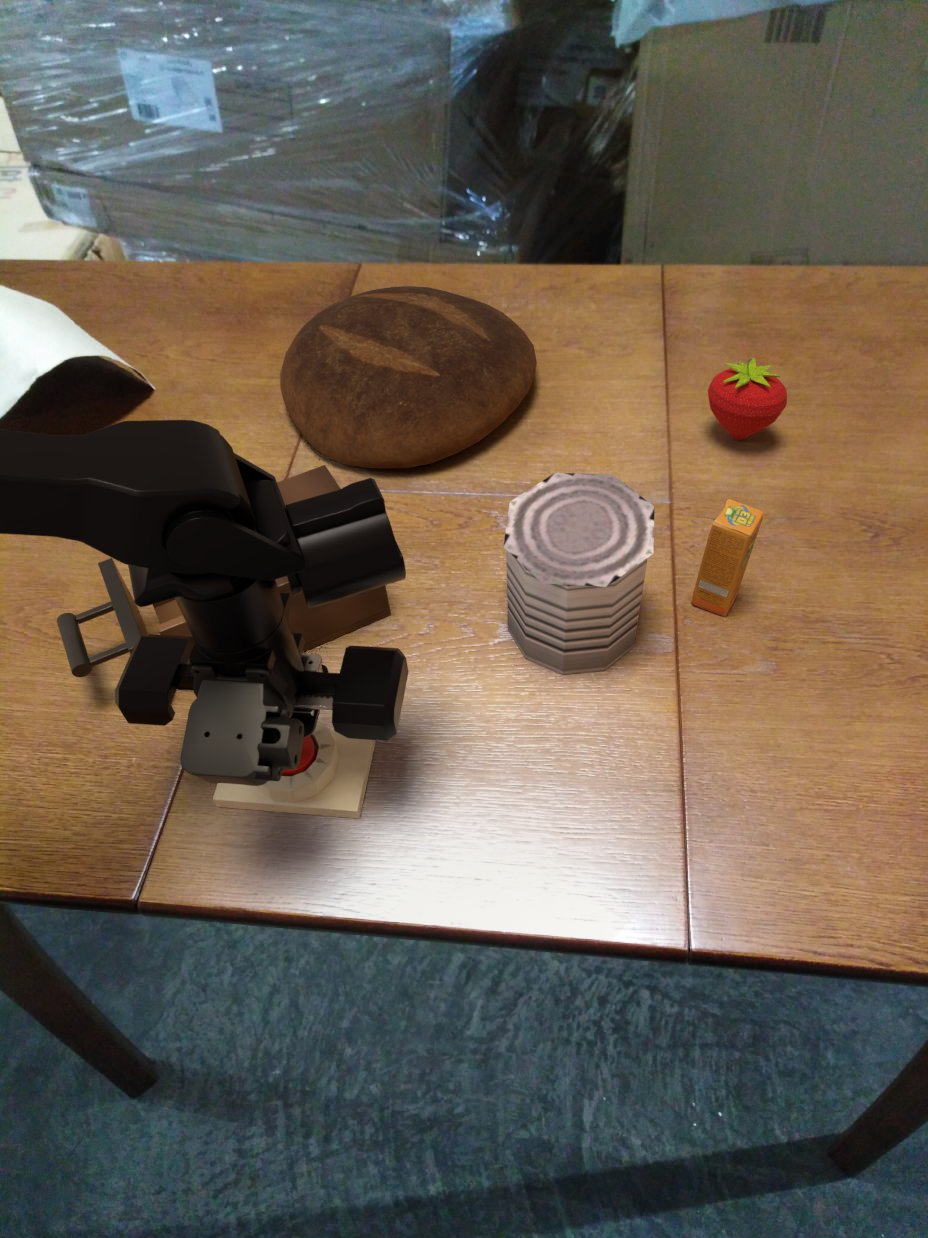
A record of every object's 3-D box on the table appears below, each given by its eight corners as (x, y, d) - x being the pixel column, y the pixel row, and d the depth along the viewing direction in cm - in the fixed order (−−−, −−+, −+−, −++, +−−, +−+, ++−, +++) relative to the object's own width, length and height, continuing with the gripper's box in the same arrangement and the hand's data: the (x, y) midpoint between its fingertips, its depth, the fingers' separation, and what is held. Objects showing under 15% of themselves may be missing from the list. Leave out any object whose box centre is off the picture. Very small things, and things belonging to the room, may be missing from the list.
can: (668, 624, 76) (688, 522, 67) (574, 700, 71) (581, 603, 62) (572, 554, 82) (578, 451, 72) (479, 620, 77) (473, 520, 68)
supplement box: (728, 619, 76) (750, 536, 68) (689, 605, 77) (707, 521, 69) (742, 593, 78) (765, 509, 70) (704, 579, 79) (723, 495, 71)
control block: (216, 807, 67) (205, 787, 65) (241, 728, 71) (232, 707, 69) (359, 819, 66) (353, 799, 63) (376, 737, 70) (371, 716, 68)
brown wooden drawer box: (244, 677, 75) (216, 611, 68) (203, 587, 81) (174, 519, 75) (391, 614, 78) (378, 546, 72) (340, 533, 85) (324, 464, 78)
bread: (389, 297, 111) (380, 228, 104) (581, 361, 100) (585, 289, 94) (230, 421, 97) (208, 351, 90) (434, 512, 86) (426, 440, 79)
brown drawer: (99, 725, 71) (65, 675, 66) (72, 637, 77) (39, 584, 72) (300, 640, 76) (283, 587, 71) (260, 562, 82) (241, 508, 77)
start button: (265, 781, 67) (260, 769, 65) (277, 740, 69) (272, 727, 68) (312, 785, 66) (308, 773, 65) (322, 743, 68) (318, 731, 67)
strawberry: (766, 467, 88) (789, 381, 80) (691, 447, 90) (707, 362, 82) (781, 431, 91) (805, 346, 83) (709, 413, 93) (725, 328, 86)
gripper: (37, 717, 50) (132, 841, 62) (363, 739, 48) (396, 863, 60) (109, 571, 57) (181, 707, 69) (396, 584, 55) (419, 723, 67)
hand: (289, 750), depth 66 cm, fingers closed, pressing on start button
